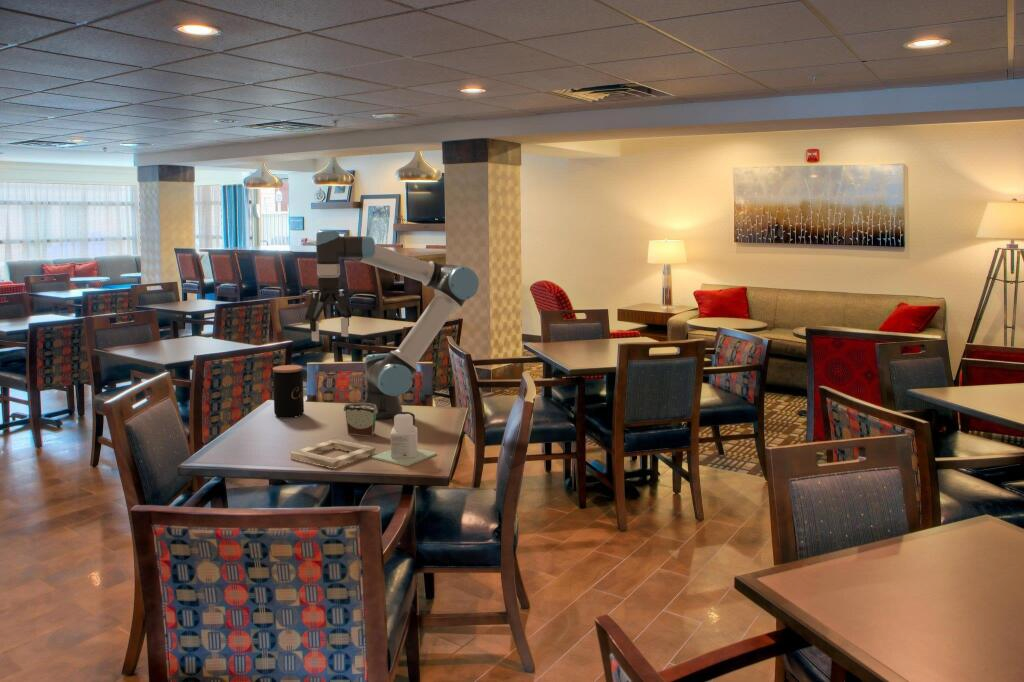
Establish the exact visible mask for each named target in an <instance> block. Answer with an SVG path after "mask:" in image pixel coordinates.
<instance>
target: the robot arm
mask: <svg viewBox="0 0 1024 682" xmlns="http://www.w3.org/2000/svg"><path fill="white" fill-rule="evenodd" d="M315 238H316V240H315V243H316V244H315V246H316V247H315V249H316V251H315V252H316V274H317V283H316V284H317V288H318V289H319V290H318V291H312V292H311V295H310V301H309V304H308V307H307V310H306V313H305V316H304V320H305V321H307V322H309V330H310V332H311V342H320V329H319V328H320V325H319V321H318V319H319V317H320V315H321V314H322V312H323V311H324V308H325V307H326V306H327V305H334V307H335V308H336V309H337V310H338V312H339V313H340V315H341V317H340V334H341V337H346V338H347V337H349V326H350V319H351V318H352V316H353V315H354V311H353V309H352V306H351V304H350V301H349V298H348V295H347V290H346V289H342V288H341V277H340V276H341V266H340V265H341V264H340V262H341V261H340V259H342V260H344V259H345V260H346V259H347V260H348V259H352V260H355V261H357V262H360V263H364V264H367V265H369V266H372V267H376V268H379V269H383V270H384V271H388V272H391V273H394V274H398V275H401V276H403V277H407V278H409V279H412V280H416V281H418V282H421V284H422V285H423V286H425V287H428V288H431V289H433V291H434V296H433V298H432V299H431V301H430V302H429V303H428V305H427V307H426V308H425V309H424V311H422V313H421V315H420V316H419V318H418V319H417V321H416V322H415V323H414V325H413V326H412V328H411V329H410V330H409V332H408V333H407V335H406V336H405V337H404V338H403V340H402V342H401V343H400V345H399V346H398V347H397V349H395V350H390V352H389V353H375V354H367V355H366V356H365V358H364V368H365V369H364V372H365V375H364V376H365V397H364V401H363V403H371V404H375V405H376V407H377V410H378V413H377V414H376V419H375V420H384V419H392V418H393V415H394V414H396V413H399V412H403V407H402V405H401V401H400V399H399V396H402V395H404V394H405V393H407V392H408V391H409V390H410V388H411V386H412V385H413V377H414V375H415V374H416V372H417V371H418V366H417V365H418V362H419V361H420V359H421V357H422V356H423V355H424V354H425V352H426V350H427V349H428V348H429V346H430V345H431V344H432V343H433V341H434V339H435V338H436V336H437V335H438V334H439V332H440V331H441V329H442V328H443V327H444V325H445V323H446V322H447V321H448V319H449V318H450V316H451V315H452V314H453V312H454V310H458V309H461V308H462V306H463V305H464V304H465V302H466V301H467V300H469V299H472V298H473V297H474V296H475V295H476V294H477V292H478V291H479V286H480V285H479V284H480V281H479V277H478V275H477V273H476V272H475V271H474V270H473V269H472V268H470V267H468V266H465V265H455V264H445V263H439V262H436V261H433V260H430V261H429V262H428V261H425V260H422V259H419V258H416V257H412V256H409V255H406V254H404V253H401V252H397V251H395V250H392V249H390V248H389V249H388V248H386V247H384V246H381V245H378V244H376V243H375V239H374V238H373V237H372V236H355V235H354V236H353V235H343V236H340V233H339V231H338V230H319V231H317V232H316V237H315ZM340 288H341V289H340Z"/></svg>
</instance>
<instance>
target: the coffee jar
mask: <svg viewBox="0 0 1024 682" xmlns="http://www.w3.org/2000/svg"><path fill="white" fill-rule="evenodd" d="M302 370H303V366H302V365H297V364H287V365H286V364H284V365H277V366H273V367H272V372H273V374H272V385H273V390H272V391H273V408H274V409H273V410H274V415H275V416H276V417H277V416H278V417H277V418H280V417H293V418H296V417H295V416H299V415H301V416H303V414H304V413H305V406H304V405H305V404H304V401H305V400H304V376H303V375H304V374H303V372H302ZM299 417H300V416H299Z"/></svg>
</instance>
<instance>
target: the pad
mask: <svg viewBox="0 0 1024 682" xmlns="http://www.w3.org/2000/svg"><path fill="white" fill-rule="evenodd" d="M437 455H438V453H437V452H434V451H431V450H425V449H420V448H418V451H417V457H416V458H391V449H388V450H387V451H386V450H385V451H383V452H380V453H378V454H377V453H376V454H375V455H372V456H371V459H373V458H374V459H373V460H377V459H378V461H382V462H387V463H391V464H396V465H400V466H403V467H404V466H405V467H408V466H411V465H414V464H416V463H419V462H422V461H424V460H427V459H429V458H432V457H434V456H437Z"/></svg>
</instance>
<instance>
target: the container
mask: <svg viewBox="0 0 1024 682" xmlns="http://www.w3.org/2000/svg"><path fill="white" fill-rule="evenodd" d="M392 423H393V424H392V428H391V431H390V450H391V458H416V457H417V451H418V449H419V446H418V440H419V439H418V427H417V426H416V416H415V414H414V413H413V412H410V411H402V412H399V413H396V414H394V415H393V419H392Z"/></svg>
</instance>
